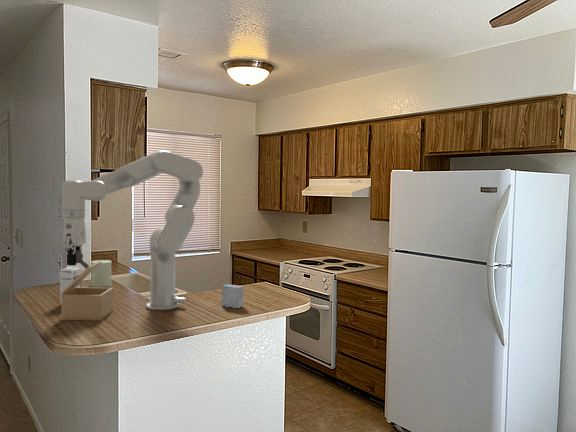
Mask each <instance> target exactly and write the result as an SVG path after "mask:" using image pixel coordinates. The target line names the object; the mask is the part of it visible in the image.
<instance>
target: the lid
mask: <svg viewBox="0 0 576 432" xmlns="http://www.w3.org/2000/svg"><path fill="white" fill-rule="evenodd" d="M75 254H76V264H80V265H81V266H82V267H83V268H84V270H83V271H81V274H80V275H79V276H78V277H77V278H76V279H75V280H74V281H73V282H72V283H71V284H70V285H69V286H67V287H66V288H65V289H64V290H63V291H62V292H61V293H59V295H60V294H61V295H62V294H64V293H65V292H67V291H69V290H71V289H73V288H75V287H76V286H77V285H78V284H79V283H80V282H81V283H82V281H84V280H85V279H86V278H87V277H88V276H89V275H90V273H91V274H92V271H93V270H94V269H95V268H96V267H97V266H98V265H99V264H100V263H101V262H102V261H99V262H97V263H95V264H93V265H92V264H90V265H89V264H88V263H87V262H86V261H85V260H84V255H83V251H82V252H80V251H75ZM77 262H79V263H77Z"/></svg>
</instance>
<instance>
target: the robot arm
mask: <svg viewBox="0 0 576 432" xmlns="http://www.w3.org/2000/svg"><path fill="white" fill-rule="evenodd" d="M161 174H167V175H169V176H172V177H174V178H177V179H178V183H179V187H178V190H177V192H176V195H175V196H174V199H173V200H172V202H171V203H170V204H169V205H170V206H169V207H168V208H167V210H166V212H165V215H164V221H165V222H166V223H165V225H164V227H160V228H156V229H155V230H153V232H152V233H151V235H150V237H149V253H150V284H149V285H150V287H149V289H150V291H149V292H150V293H149V295H150V296H149V298H150V299H149V302H147V303H146V304H145V306H146V307H145V308H146V309H148V310H151V311H152V310H153V311H168V310H173V309H177V308H178V307H179V305H180V303H181V304H186V300H187V299H186V297H183V296H182V297H179V296H178V295H177V293H176V253H177V252H179V250H180V249H181V247H182V246H183V244H184V243H185V241H186V238H187V237H188V235H189V233H190V232H191V230H192V228H193V226H194V224H195V219H196V218H195V213H194V211H193V209H194V208H195V206H196V204H197V202H198V200H199V197H200V195H201V184H200V183H201V182H200V180H201V179H202V177H203V175H204V169H203V166H202V164H201V163H199V162H198V161H196V160H194V159H192V158H189V157H185V156H182V155H180V154H177V153H174V152H171V151H167V150H159V151H154V152H153V153H152V152H151V153H150V154H148V155H146V156H144V157H141V158H139V159H137V160H134V161H132V162H130V163H127V164H125V165H123V166H121V167H118V168H117V169H115V170H113V171H111V172H109V173H106V174H103V175H102V176H100V177H99V176H98V177H97V178H94V179H93V180H91V181H81V180H64V181H63V182H62V187H61V189H62V192H61V193H62V219H63V220H64V221H63V231H62V232H63V233H62V234H63V236H62V237H63V238H62V239H63V245H64V249H65V253H66V266H76V265H77V264H80V263H79V262H77V263H76V254H75V251H80V252H82V253H83V248H82V247H83V245H85V244H86V242H87V234H86V230H87V229H86V221H85V219H86V200H87V201H94V202H100V201H103V200H105V199H106V198H107V197H108V195H111V194H113V193H115V192H117V191H121V190H123V189H126V188H127V189H128V188H131V187H135V186H137V185H139V184H142V183H144V182H146V181H148V180H151V179H153V178H155V177H157V176H159V175H161Z"/></svg>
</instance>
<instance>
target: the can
mask: <svg viewBox="0 0 576 432" xmlns="http://www.w3.org/2000/svg"><path fill="white" fill-rule="evenodd" d="M99 261H102V262H101V263H100V264H99V265H98V266H97V267H96V268H95V269H94V270H93V271H92V272H91V282H90V283H91V285H90V286H91V288H109V287H111V286H112V285H113V284H112V260H109V259H107V260H106V259H105V260H104V259H99V260H92V261H91V262H90V263H91V264H90V265H93V264H95V263H97V262H99Z"/></svg>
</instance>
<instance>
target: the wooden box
mask: <svg viewBox="0 0 576 432" xmlns="http://www.w3.org/2000/svg"><path fill="white" fill-rule="evenodd" d="M113 294H114V288H113V287H82V286H81V287H75V288H73V289H71V290H70V291H68V292H66V293H64V294H62V295H61V303H60V307H61V308H60V309H61V315H60V316H61V320H62V321H65V320H68V321H69V320H70V321H76V320H77V321H102V320H104V319H105V318H106V317H107V316H108V315H109V314H111V313H112V312H113V311H114V310H113V309H114V307H113V305H114V302H113V299H114V295H113Z"/></svg>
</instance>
